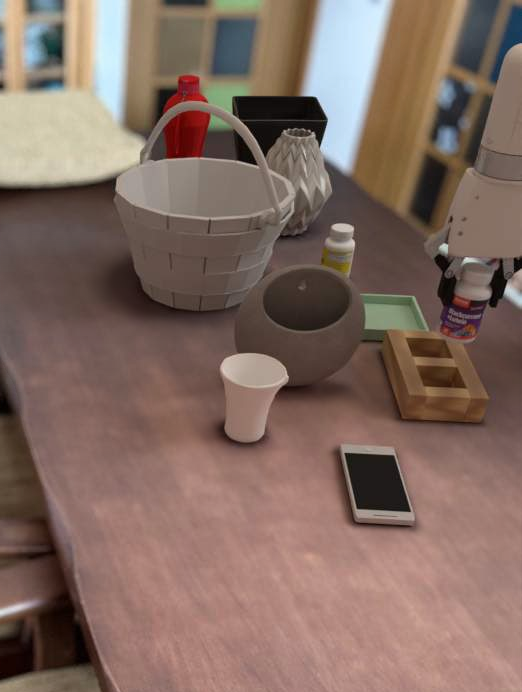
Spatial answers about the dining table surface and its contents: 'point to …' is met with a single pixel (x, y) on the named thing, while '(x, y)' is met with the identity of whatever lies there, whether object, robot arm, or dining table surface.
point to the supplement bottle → (339, 248)
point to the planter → (302, 321)
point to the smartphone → (376, 485)
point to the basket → (202, 220)
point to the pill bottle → (466, 304)
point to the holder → (432, 377)
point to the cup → (250, 393)
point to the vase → (301, 176)
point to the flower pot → (275, 120)
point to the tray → (391, 315)
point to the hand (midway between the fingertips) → (467, 301)
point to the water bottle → (186, 122)
